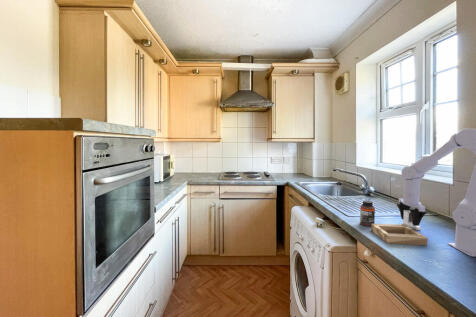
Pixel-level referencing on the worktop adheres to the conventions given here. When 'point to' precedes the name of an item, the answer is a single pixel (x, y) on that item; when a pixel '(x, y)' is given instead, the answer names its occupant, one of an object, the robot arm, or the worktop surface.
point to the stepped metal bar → (409, 220)
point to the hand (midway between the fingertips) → (409, 222)
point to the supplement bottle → (367, 213)
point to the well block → (398, 234)
